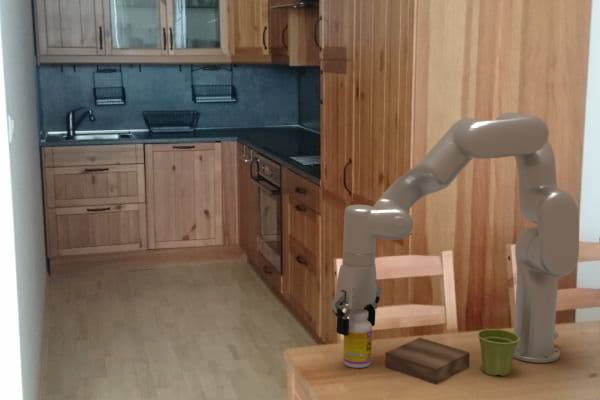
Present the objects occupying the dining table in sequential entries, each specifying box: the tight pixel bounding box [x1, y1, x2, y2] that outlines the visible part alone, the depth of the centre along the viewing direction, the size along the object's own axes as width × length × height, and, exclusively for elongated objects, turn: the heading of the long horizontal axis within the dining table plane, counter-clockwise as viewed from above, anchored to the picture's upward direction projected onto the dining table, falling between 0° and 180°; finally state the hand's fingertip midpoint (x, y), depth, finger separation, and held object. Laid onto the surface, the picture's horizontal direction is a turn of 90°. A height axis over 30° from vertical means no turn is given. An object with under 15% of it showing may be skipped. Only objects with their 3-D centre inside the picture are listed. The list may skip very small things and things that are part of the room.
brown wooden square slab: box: [384, 337, 471, 385], centre depth 177 cm, size 14×14×4 cm
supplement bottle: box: [342, 308, 373, 369], centre depth 178 cm, size 7×7×13 cm
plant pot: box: [476, 328, 520, 377], centre depth 174 cm, size 9×9×9 cm
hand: (355, 329), depth 177 cm, fingers open, 9 cm apart
